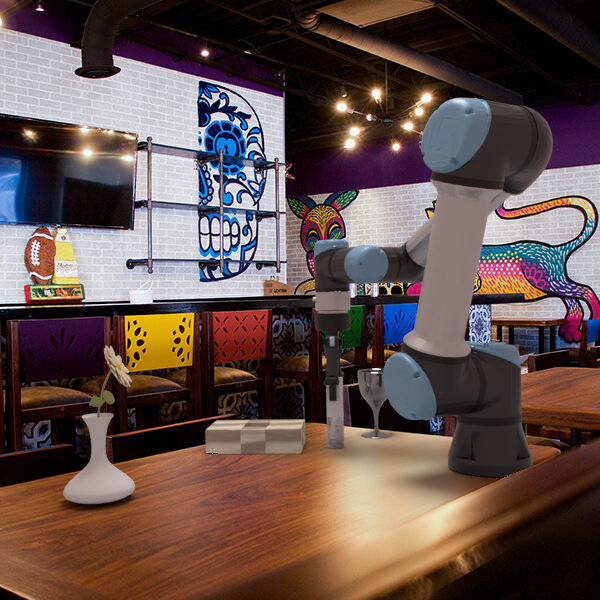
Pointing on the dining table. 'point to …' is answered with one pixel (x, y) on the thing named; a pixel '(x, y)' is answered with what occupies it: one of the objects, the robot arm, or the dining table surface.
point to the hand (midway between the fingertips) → (334, 411)
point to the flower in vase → (101, 450)
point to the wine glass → (373, 396)
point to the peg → (336, 425)
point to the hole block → (255, 436)
